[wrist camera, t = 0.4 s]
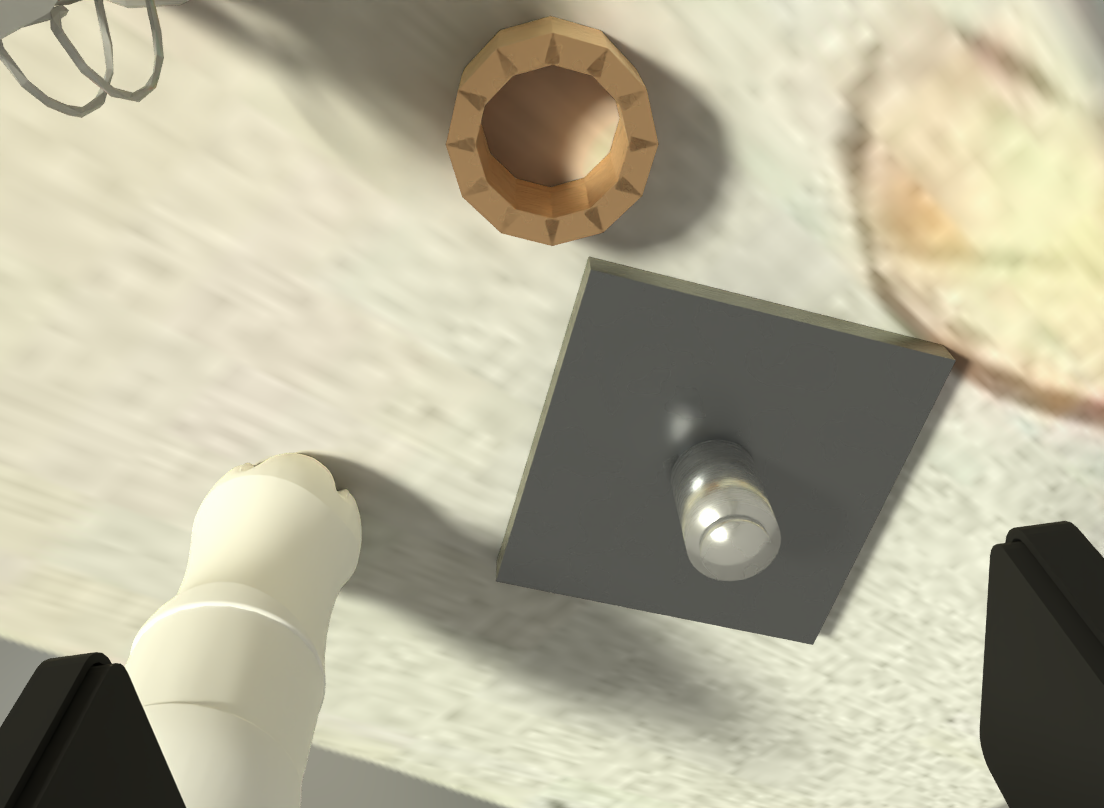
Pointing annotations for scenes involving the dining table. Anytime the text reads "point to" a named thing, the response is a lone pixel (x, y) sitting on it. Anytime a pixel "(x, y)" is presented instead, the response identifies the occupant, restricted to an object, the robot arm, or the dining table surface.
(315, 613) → the water bottle
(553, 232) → the copper ring
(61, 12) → the french press
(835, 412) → the block
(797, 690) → the dining table surface
